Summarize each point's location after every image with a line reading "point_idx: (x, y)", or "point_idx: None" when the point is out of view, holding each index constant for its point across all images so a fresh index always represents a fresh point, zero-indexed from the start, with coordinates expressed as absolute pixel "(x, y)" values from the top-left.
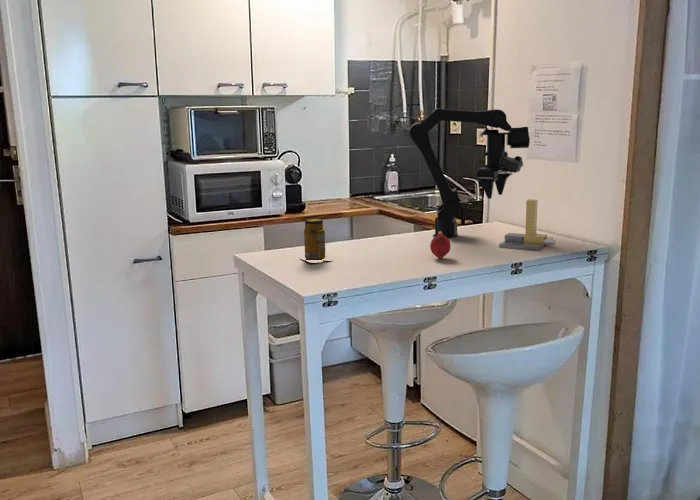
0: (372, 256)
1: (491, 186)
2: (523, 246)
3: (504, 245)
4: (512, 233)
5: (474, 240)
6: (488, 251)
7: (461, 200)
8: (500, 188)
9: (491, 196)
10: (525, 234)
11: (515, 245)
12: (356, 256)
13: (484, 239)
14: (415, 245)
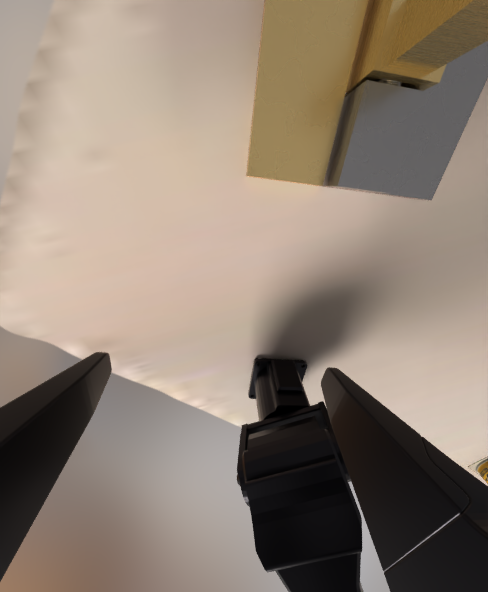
0: (485, 418)
1: (461, 471)
2: (485, 79)
3: (439, 177)
4: (349, 167)
5: (320, 300)
6: (480, 219)
7: (336, 462)
8: (73, 409)
9: (340, 376)
10: (431, 72)
11: (464, 124)
12: (480, 435)
13: (300, 278)
14: (390, 394)
